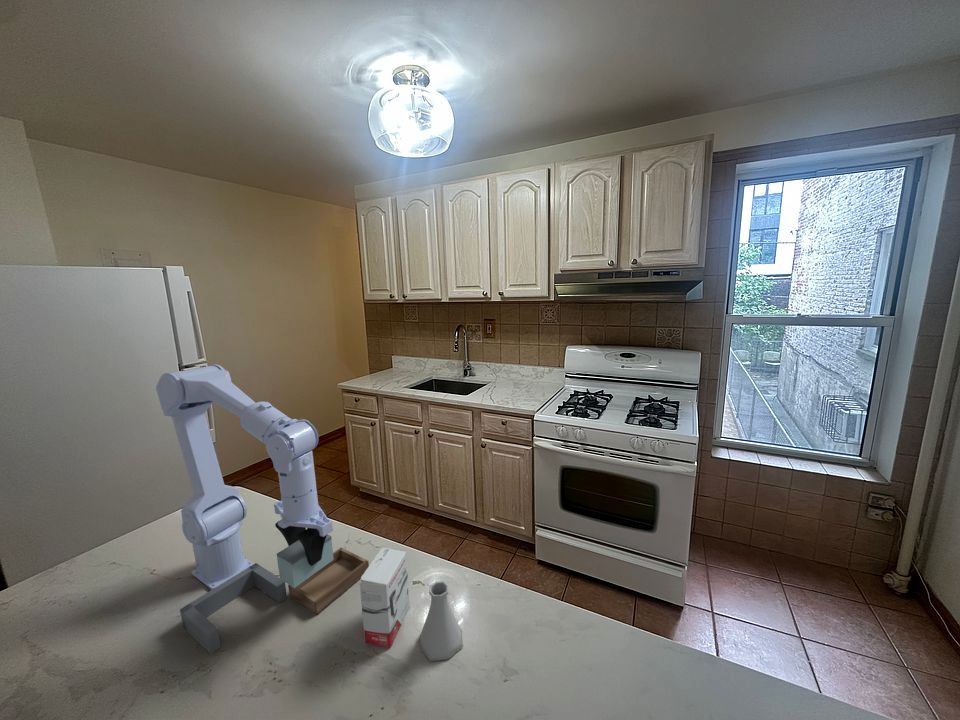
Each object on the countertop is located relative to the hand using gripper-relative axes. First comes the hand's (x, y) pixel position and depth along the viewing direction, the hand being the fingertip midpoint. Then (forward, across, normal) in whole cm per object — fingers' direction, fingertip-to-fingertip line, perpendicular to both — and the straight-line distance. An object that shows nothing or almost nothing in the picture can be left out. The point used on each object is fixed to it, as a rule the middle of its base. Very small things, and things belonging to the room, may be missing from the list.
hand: (307, 557), depth 68 cm
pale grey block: (+2, 0, 0) cm, 2 cm away
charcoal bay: (+9, -10, -8) cm, 16 cm away
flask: (+10, +26, +6) cm, 29 cm away
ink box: (+10, +16, +4) cm, 19 cm away
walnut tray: (+9, -1, +5) cm, 10 cm away
